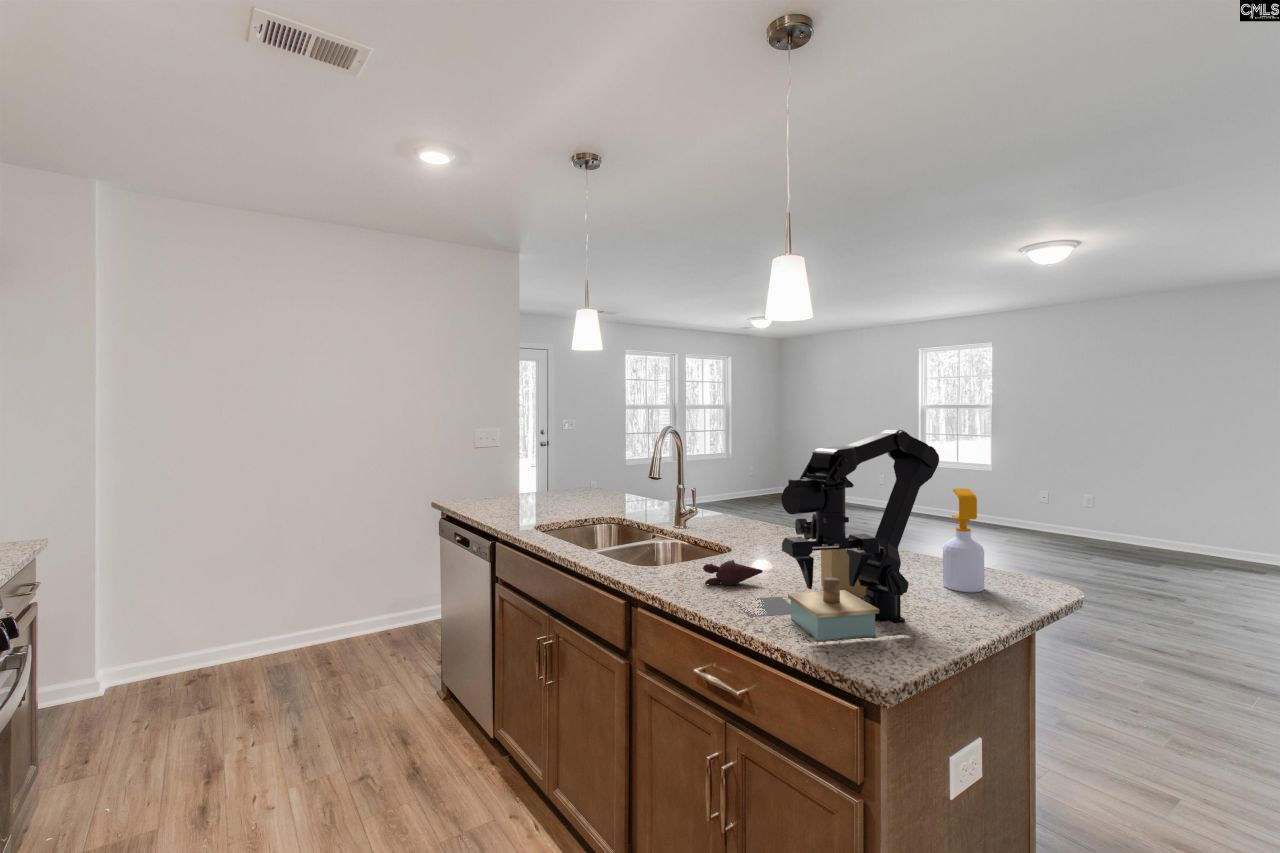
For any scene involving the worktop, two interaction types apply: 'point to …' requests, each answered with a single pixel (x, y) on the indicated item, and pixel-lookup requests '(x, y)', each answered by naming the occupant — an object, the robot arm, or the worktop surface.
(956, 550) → the soap bottle
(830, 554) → the sandwich container
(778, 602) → the mat
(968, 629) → the worktop surface
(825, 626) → the light blue box
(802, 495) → the robot arm
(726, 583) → the icecream
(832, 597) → the lid
